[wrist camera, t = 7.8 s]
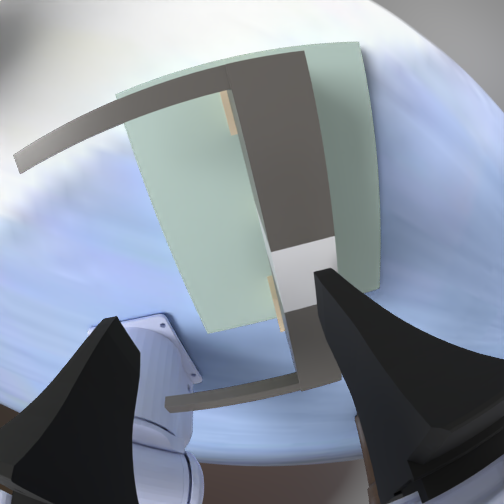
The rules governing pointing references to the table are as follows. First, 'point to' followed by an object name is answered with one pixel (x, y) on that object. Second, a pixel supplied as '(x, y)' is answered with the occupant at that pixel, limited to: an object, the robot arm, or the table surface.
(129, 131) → the stand
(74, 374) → the robot arm
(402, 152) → the table surface
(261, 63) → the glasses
